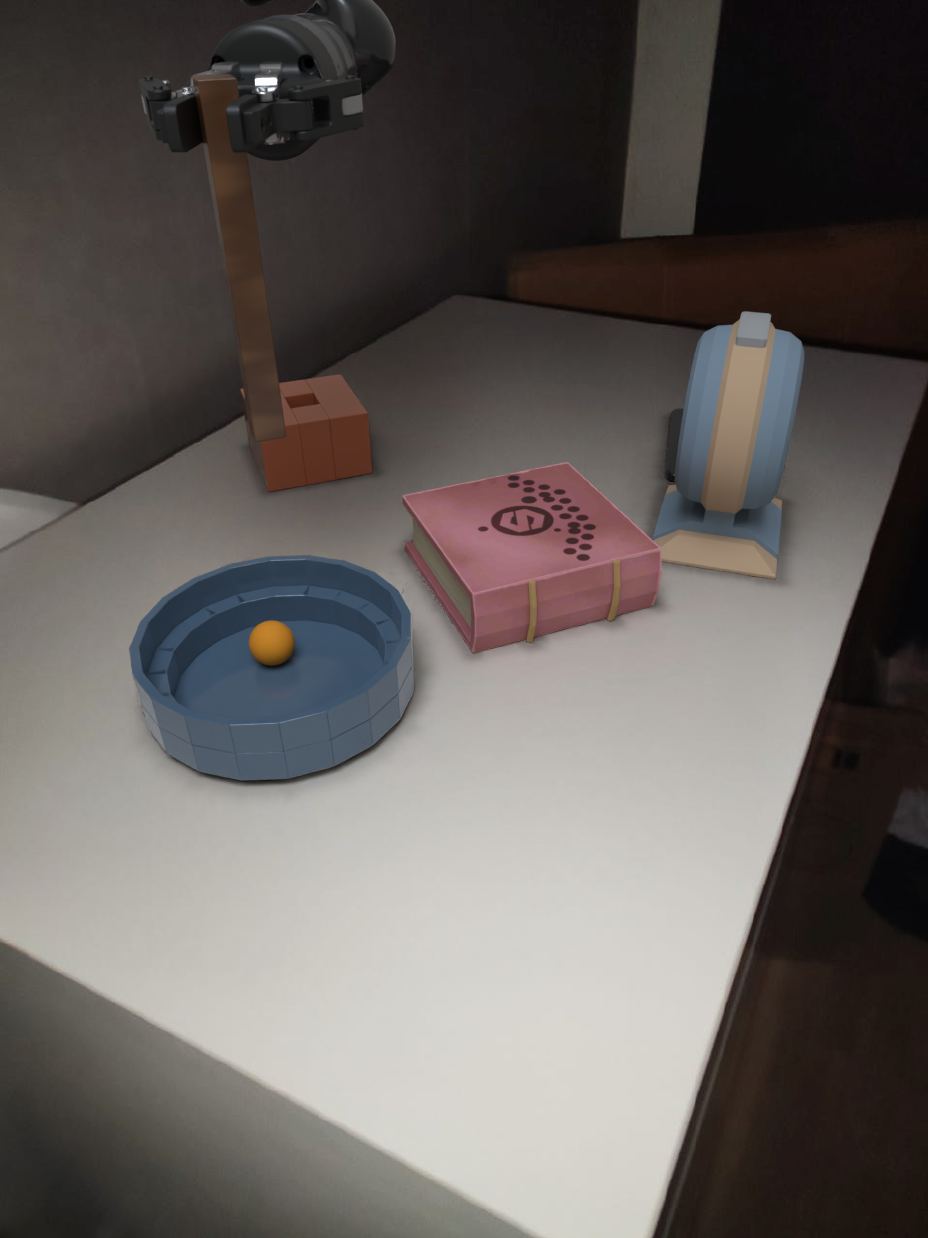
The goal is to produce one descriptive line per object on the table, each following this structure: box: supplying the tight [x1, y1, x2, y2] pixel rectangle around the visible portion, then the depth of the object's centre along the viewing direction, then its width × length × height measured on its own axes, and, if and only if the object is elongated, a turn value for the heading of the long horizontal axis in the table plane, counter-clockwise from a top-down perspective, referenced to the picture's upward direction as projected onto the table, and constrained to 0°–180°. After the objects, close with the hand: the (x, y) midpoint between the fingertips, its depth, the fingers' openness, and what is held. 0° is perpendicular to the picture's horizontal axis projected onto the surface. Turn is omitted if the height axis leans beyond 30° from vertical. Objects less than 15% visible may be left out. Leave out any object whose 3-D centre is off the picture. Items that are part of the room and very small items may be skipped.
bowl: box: [128, 554, 415, 781], centre depth 59 cm, size 17×17×5 cm
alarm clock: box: [652, 311, 805, 580], centre depth 70 cm, size 14×10×18 cm
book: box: [401, 461, 663, 654], centre depth 69 cm, size 14×15×5 cm
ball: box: [249, 620, 295, 666], centre depth 61 cm, size 3×3×3 cm
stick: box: [191, 74, 286, 442], centre depth 53 cm, size 2×2×20 cm
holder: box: [239, 373, 373, 493], centre depth 85 cm, size 10×10×6 cm
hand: (204, 129), depth 46 cm, fingers closed on stick, 2 cm apart
